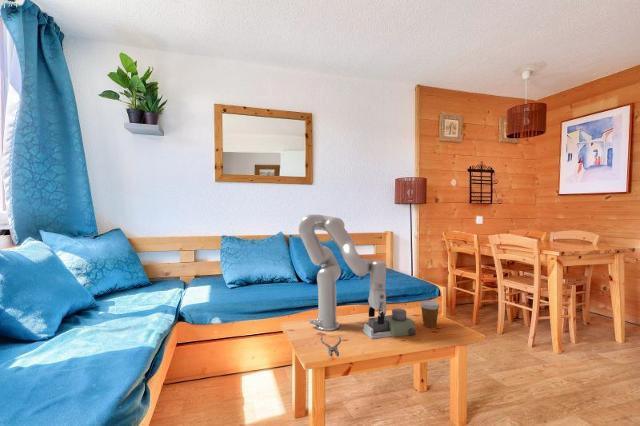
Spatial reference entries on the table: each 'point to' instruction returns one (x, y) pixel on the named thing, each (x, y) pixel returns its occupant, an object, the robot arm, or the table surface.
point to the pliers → (332, 347)
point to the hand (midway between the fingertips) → (376, 320)
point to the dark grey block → (378, 325)
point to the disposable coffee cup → (429, 313)
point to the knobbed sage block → (394, 326)
